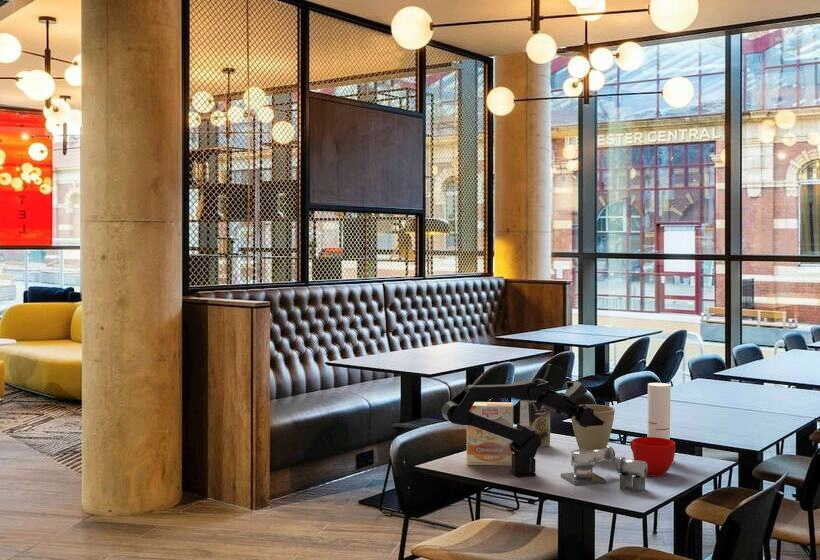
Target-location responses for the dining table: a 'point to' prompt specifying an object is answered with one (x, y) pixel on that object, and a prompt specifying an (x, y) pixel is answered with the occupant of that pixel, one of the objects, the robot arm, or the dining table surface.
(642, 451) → the red bowl
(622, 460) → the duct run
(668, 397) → the cylindrical container
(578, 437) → the plant pot
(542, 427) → the coffee box
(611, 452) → the elbow
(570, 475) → the flange plate
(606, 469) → the dining table surface
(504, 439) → the coffeecake box
